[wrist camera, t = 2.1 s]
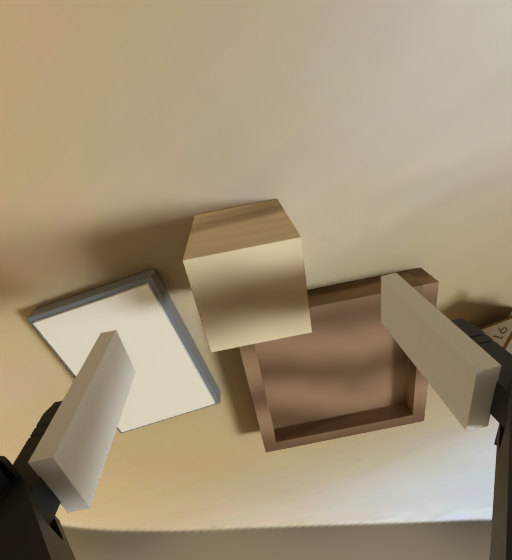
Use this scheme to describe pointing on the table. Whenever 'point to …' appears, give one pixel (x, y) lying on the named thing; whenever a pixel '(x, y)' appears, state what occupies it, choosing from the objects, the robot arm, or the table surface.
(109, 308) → the white grey flat slab
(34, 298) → the table surface
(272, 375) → the walnut tray
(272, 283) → the beech block
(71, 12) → the table surface
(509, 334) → the game die
